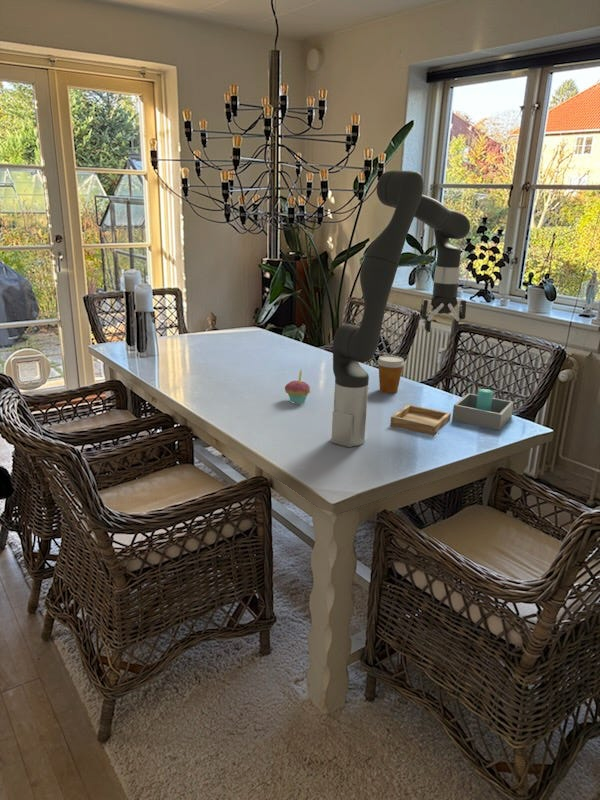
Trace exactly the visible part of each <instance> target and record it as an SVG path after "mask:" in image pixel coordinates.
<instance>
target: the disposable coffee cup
mask: <svg viewBox="0 0 600 800" xmlns="http://www.w3.org/2000/svg"><path fill="white" fill-rule="evenodd" d="M376 361H377V364H378V379H379V381H378V382H379V391H380V392H382V393H384V394H396V393H398V389H399V385H400V380H401V376H402V371H403V368H404V365H405V361H404V358H402V357H400V356H396V355H381V356H379V357H378V360H376Z"/></svg>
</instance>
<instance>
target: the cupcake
mask: <svg viewBox="0 0 600 800" xmlns="http://www.w3.org/2000/svg"><path fill="white" fill-rule="evenodd" d="M298 373H299V376H298V380H292V381H289V382H288V383H287V384H285V386H284V390H285V391H284V392H285V393H286V394H288V397H289V400H290V402H291V401H292V402H294V403H302V404H304V403H305V401H306V399H307V397H308V394H310V393H311V386H310V385H309V383H307V382H306V381H301V379H302V373H303V371H302V370H300V371H299V372H298ZM292 402H291V403H292ZM303 402H304V403H303ZM294 403H293V404H294Z"/></svg>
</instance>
